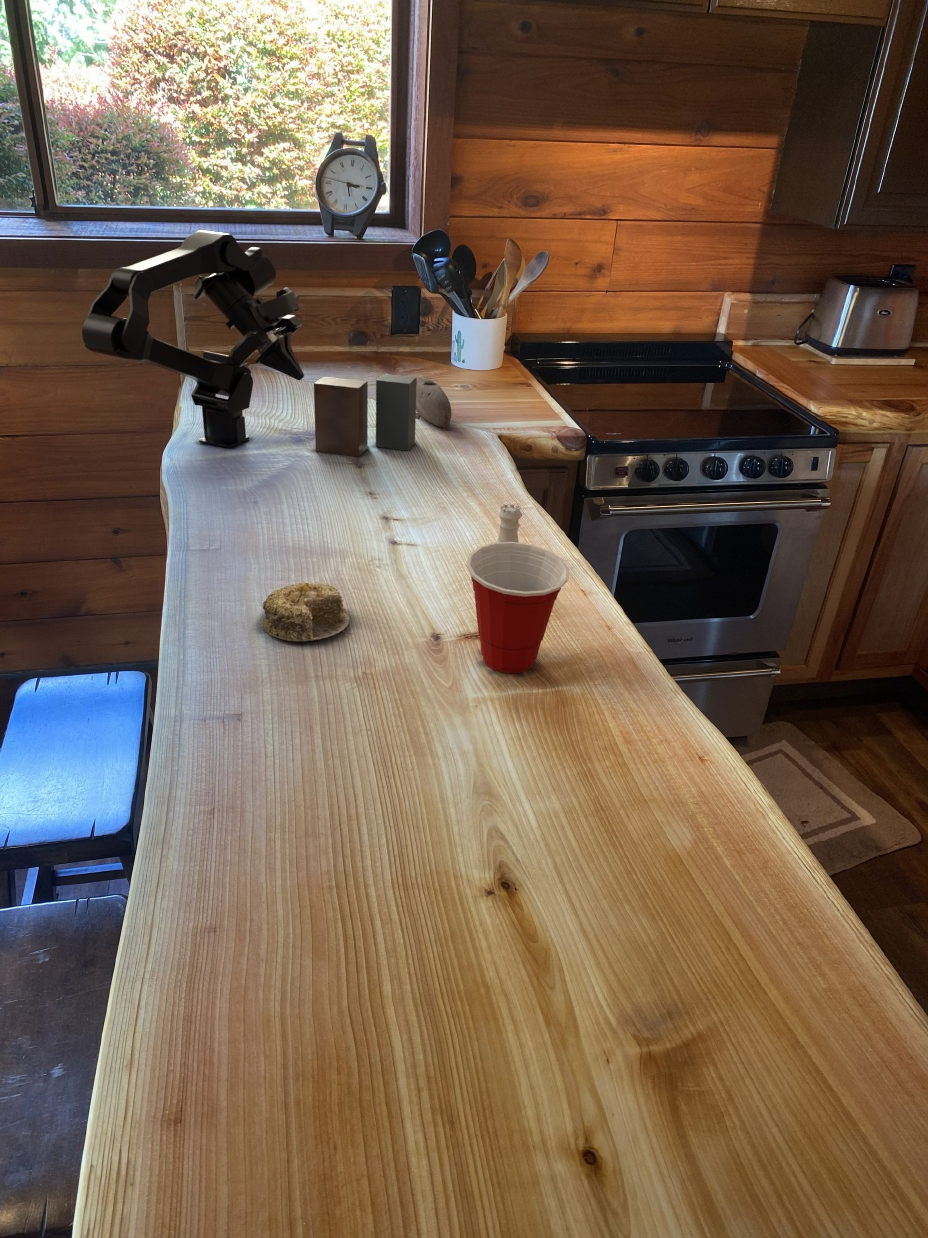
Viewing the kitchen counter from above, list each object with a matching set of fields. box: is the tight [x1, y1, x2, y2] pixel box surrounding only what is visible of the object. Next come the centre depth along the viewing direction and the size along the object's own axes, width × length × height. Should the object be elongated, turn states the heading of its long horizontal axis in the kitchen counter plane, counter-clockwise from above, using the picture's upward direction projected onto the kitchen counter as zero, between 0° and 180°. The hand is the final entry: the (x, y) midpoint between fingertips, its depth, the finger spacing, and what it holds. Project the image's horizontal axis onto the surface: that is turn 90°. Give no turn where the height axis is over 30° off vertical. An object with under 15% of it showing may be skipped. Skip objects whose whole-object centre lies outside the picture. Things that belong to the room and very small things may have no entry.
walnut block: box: [313, 376, 369, 458], centre depth 157 cm, size 8×5×12 cm, turn 78°
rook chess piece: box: [496, 503, 523, 543], centre depth 120 cm, size 4×4×8 cm
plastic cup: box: [466, 541, 570, 674], centre depth 96 cm, size 11×11×12 cm
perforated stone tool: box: [416, 378, 452, 428], centre depth 176 cm, size 15×5×7 cm, turn 20°
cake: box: [261, 582, 350, 642], centre depth 103 cm, size 10×10×5 cm
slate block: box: [375, 373, 418, 452], centre depth 161 cm, size 6×5×12 cm
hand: (302, 378), depth 155 cm, fingers closed
